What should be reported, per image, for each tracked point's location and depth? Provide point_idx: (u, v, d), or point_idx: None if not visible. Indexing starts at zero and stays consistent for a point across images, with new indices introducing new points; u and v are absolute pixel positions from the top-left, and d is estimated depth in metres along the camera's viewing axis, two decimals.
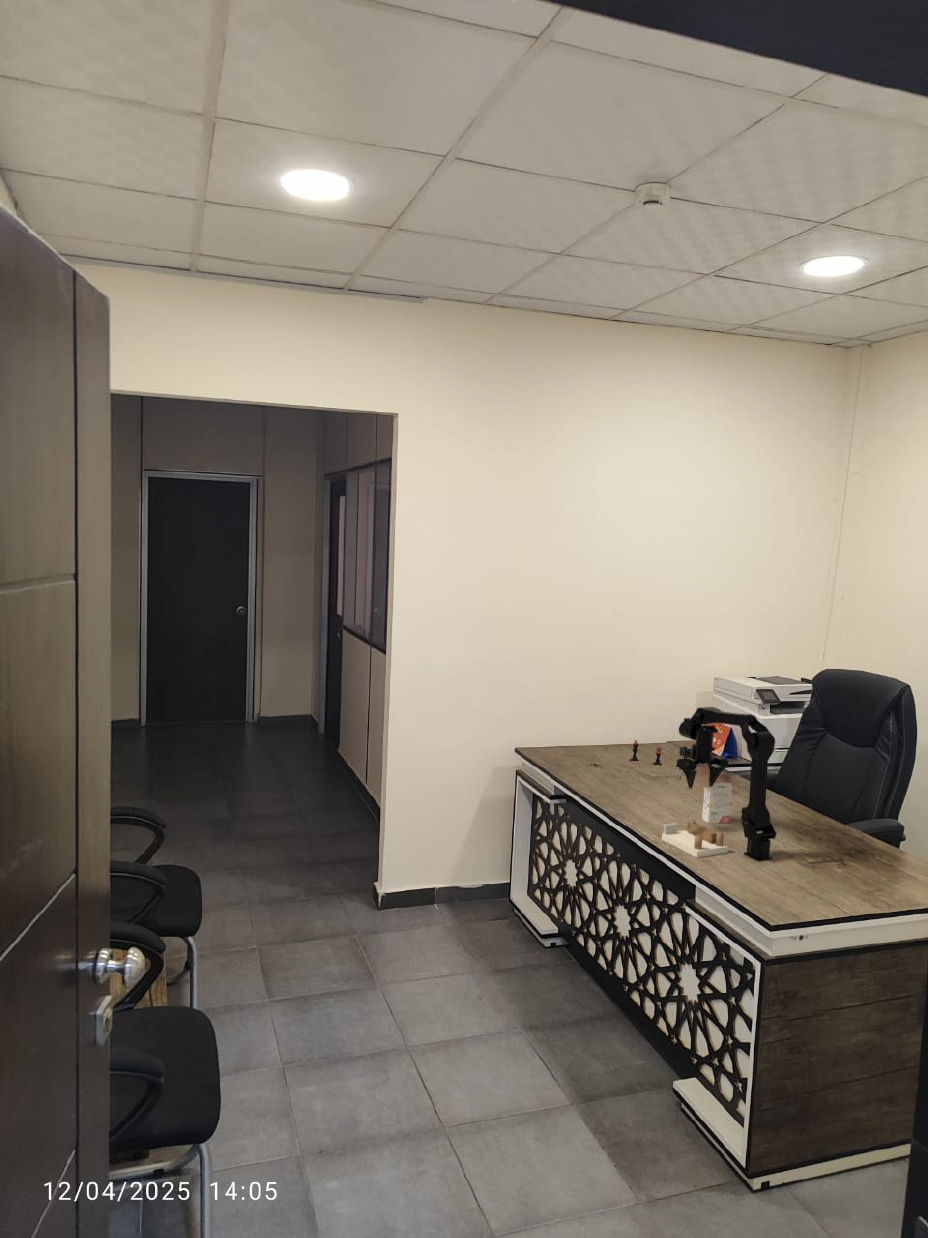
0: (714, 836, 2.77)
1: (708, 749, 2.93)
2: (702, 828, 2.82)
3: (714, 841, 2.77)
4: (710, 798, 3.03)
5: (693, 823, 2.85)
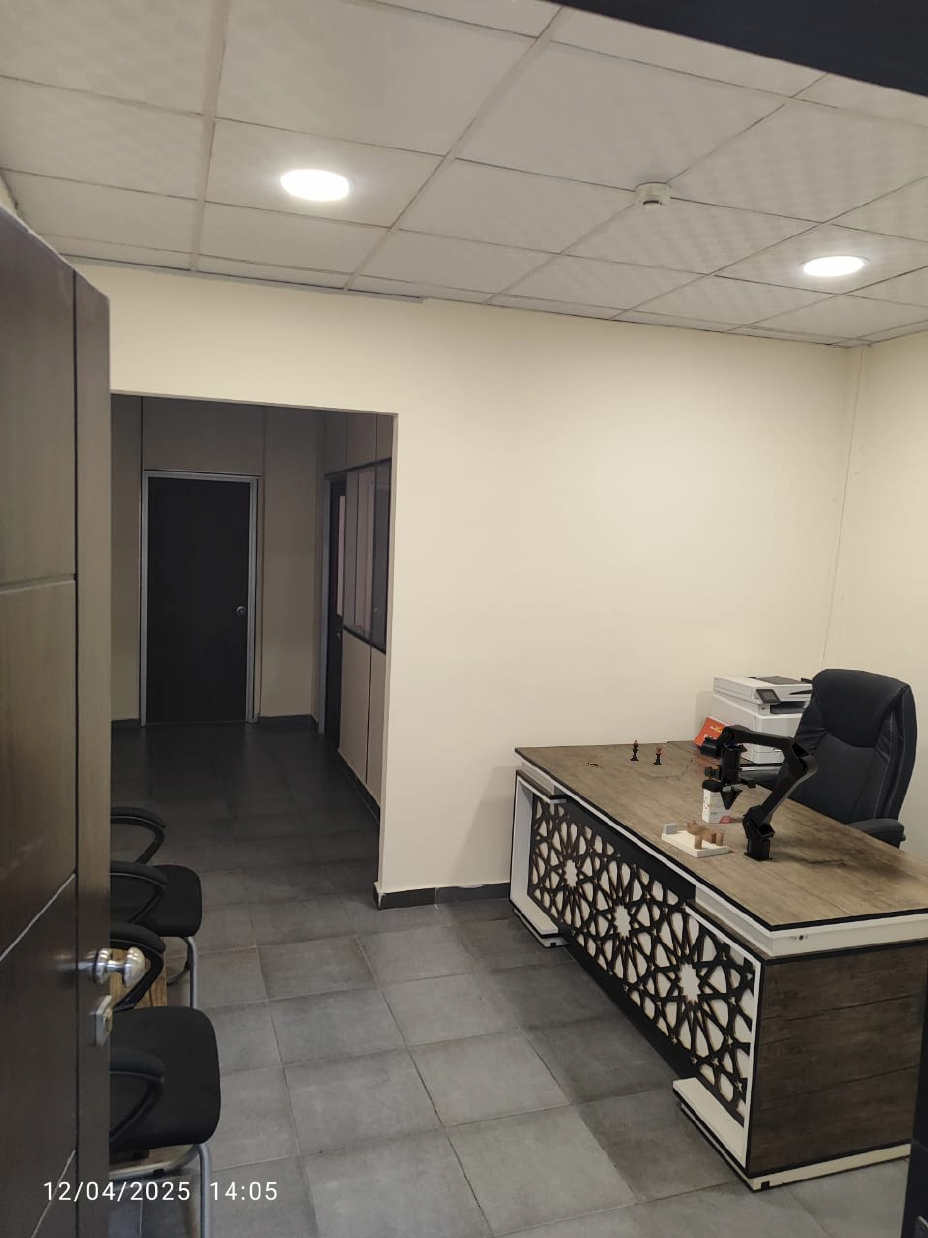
0: (714, 836, 2.77)
1: (735, 770, 2.77)
2: (702, 828, 2.82)
3: (714, 841, 2.77)
4: (710, 798, 3.03)
5: (693, 823, 2.85)
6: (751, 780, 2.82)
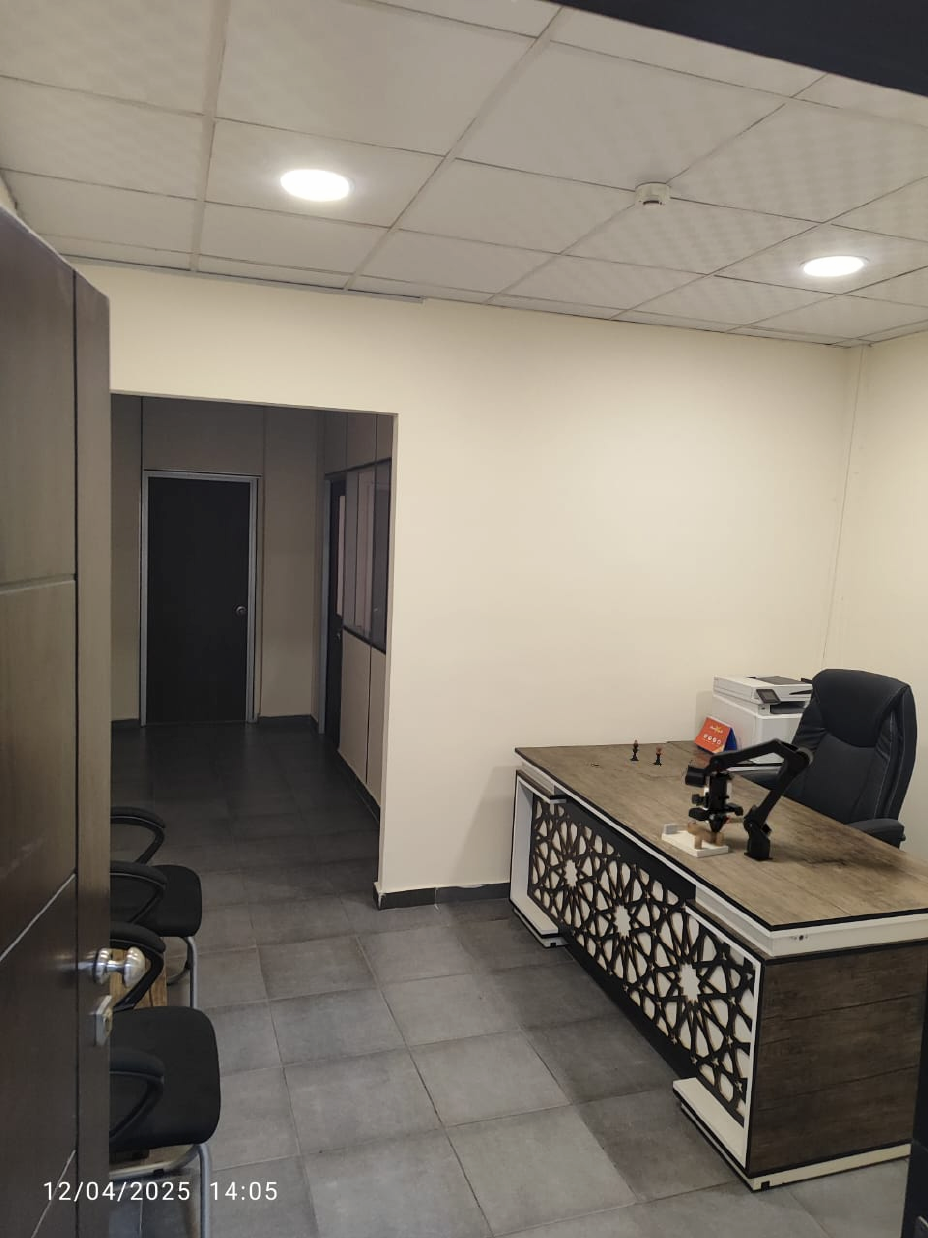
0: (713, 836, 2.77)
1: (722, 798, 2.76)
2: (702, 828, 2.82)
3: (713, 841, 2.77)
4: None
5: (693, 823, 2.85)
6: (738, 807, 2.80)
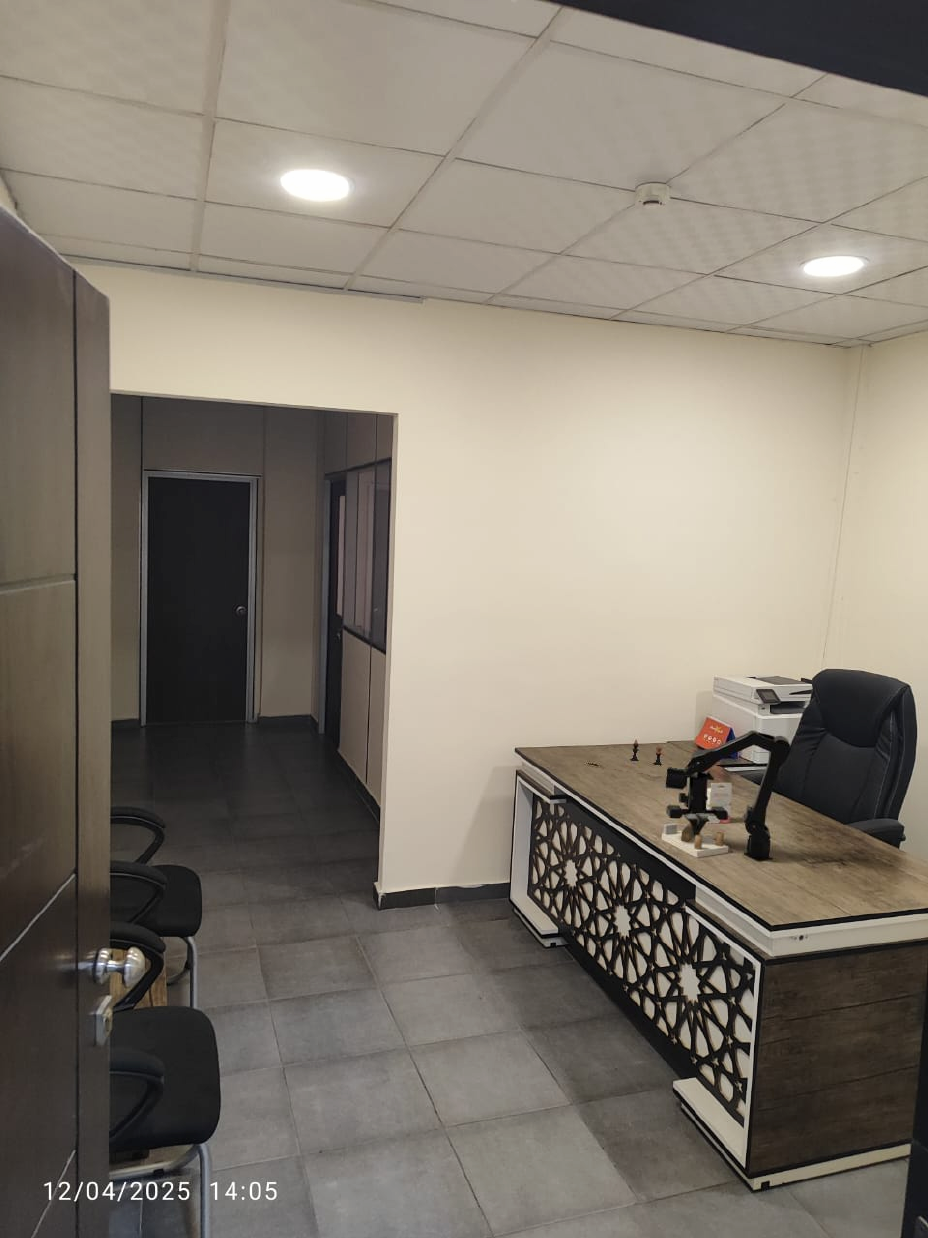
0: (684, 834, 2.77)
1: (698, 798, 2.74)
2: (688, 827, 2.82)
3: (685, 839, 2.77)
4: (710, 798, 3.03)
5: None
6: (722, 811, 2.75)
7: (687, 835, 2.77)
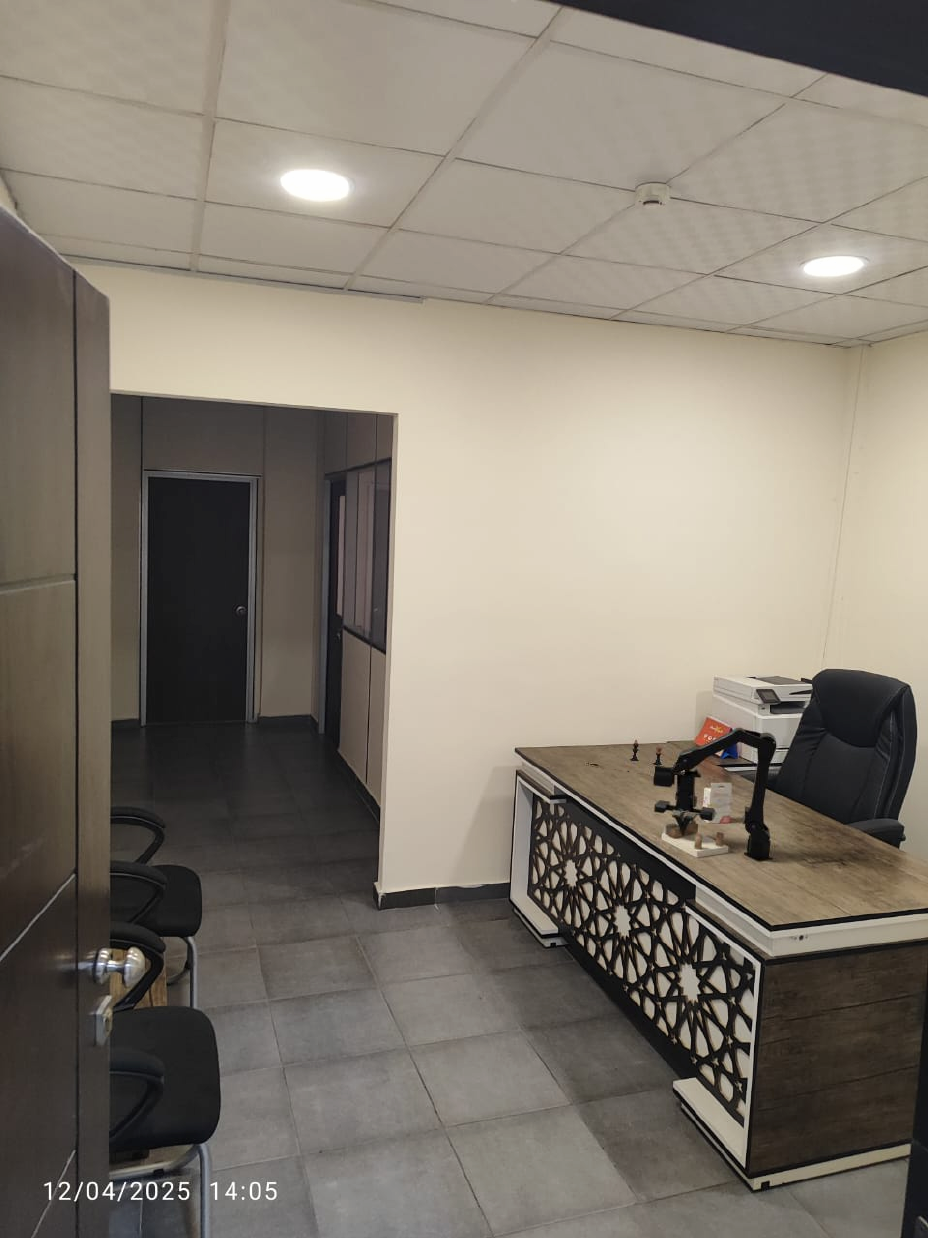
0: (671, 830, 2.80)
1: (681, 795, 2.76)
2: None
3: (671, 835, 2.80)
4: (710, 798, 3.03)
5: None
6: (706, 811, 2.74)
7: (673, 831, 2.80)
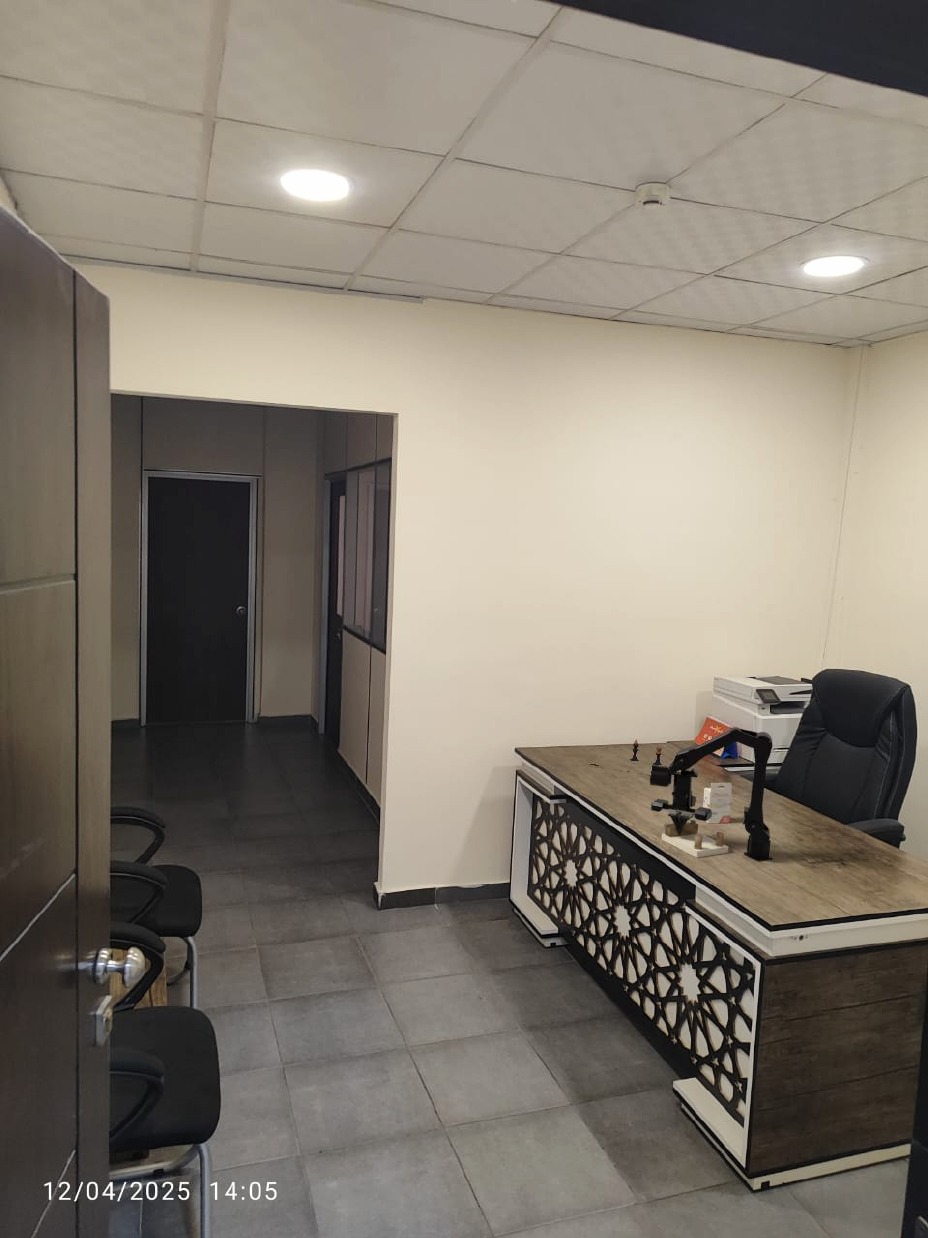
0: (667, 828, 2.82)
1: (677, 795, 2.77)
2: None
3: (667, 834, 2.82)
4: (710, 798, 3.03)
5: None
6: (701, 811, 2.74)
7: (669, 829, 2.81)
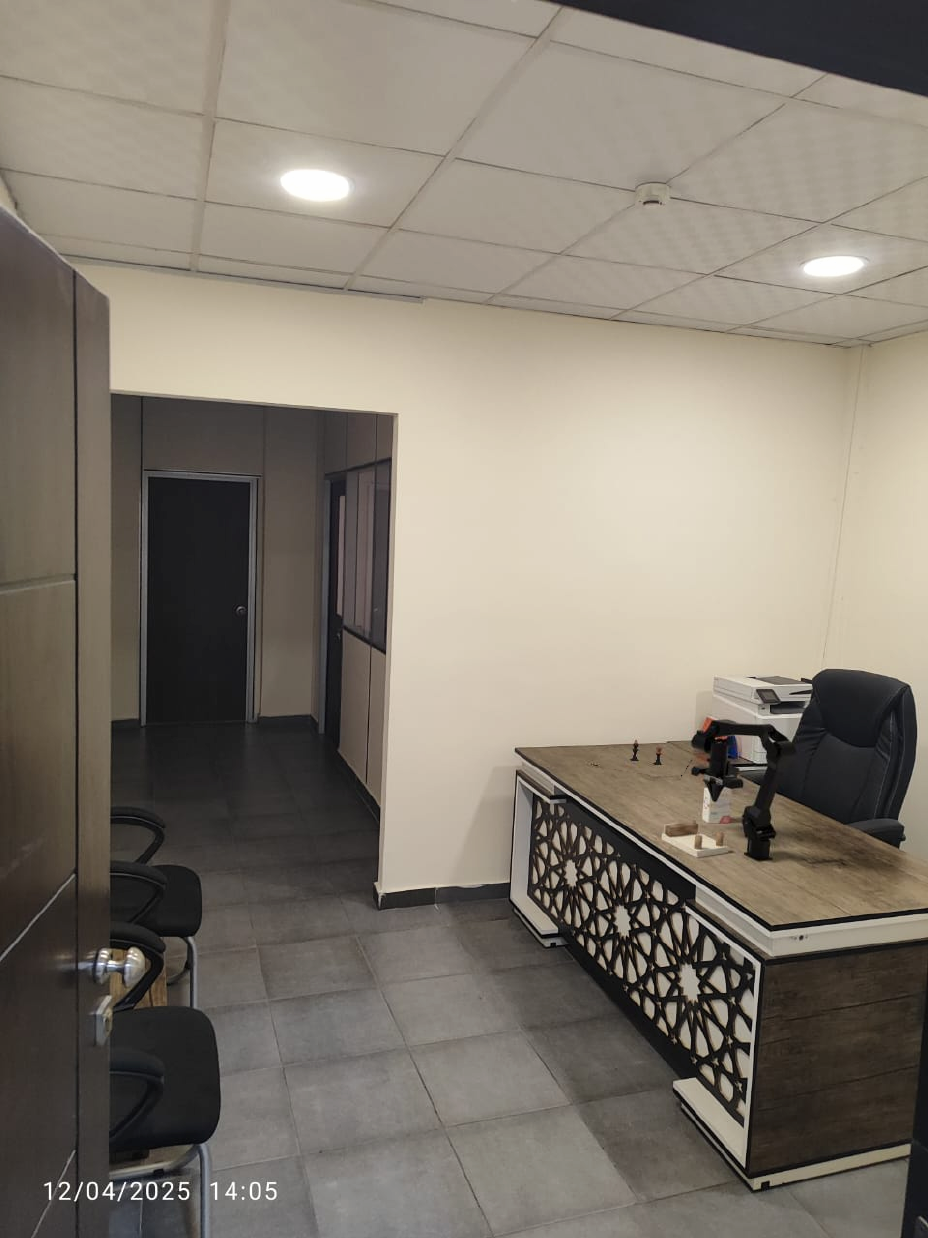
0: (667, 828, 2.82)
1: (710, 761, 2.87)
2: (680, 824, 2.84)
3: (667, 834, 2.82)
4: (710, 798, 3.03)
5: None
6: (728, 779, 2.81)
7: (669, 829, 2.81)
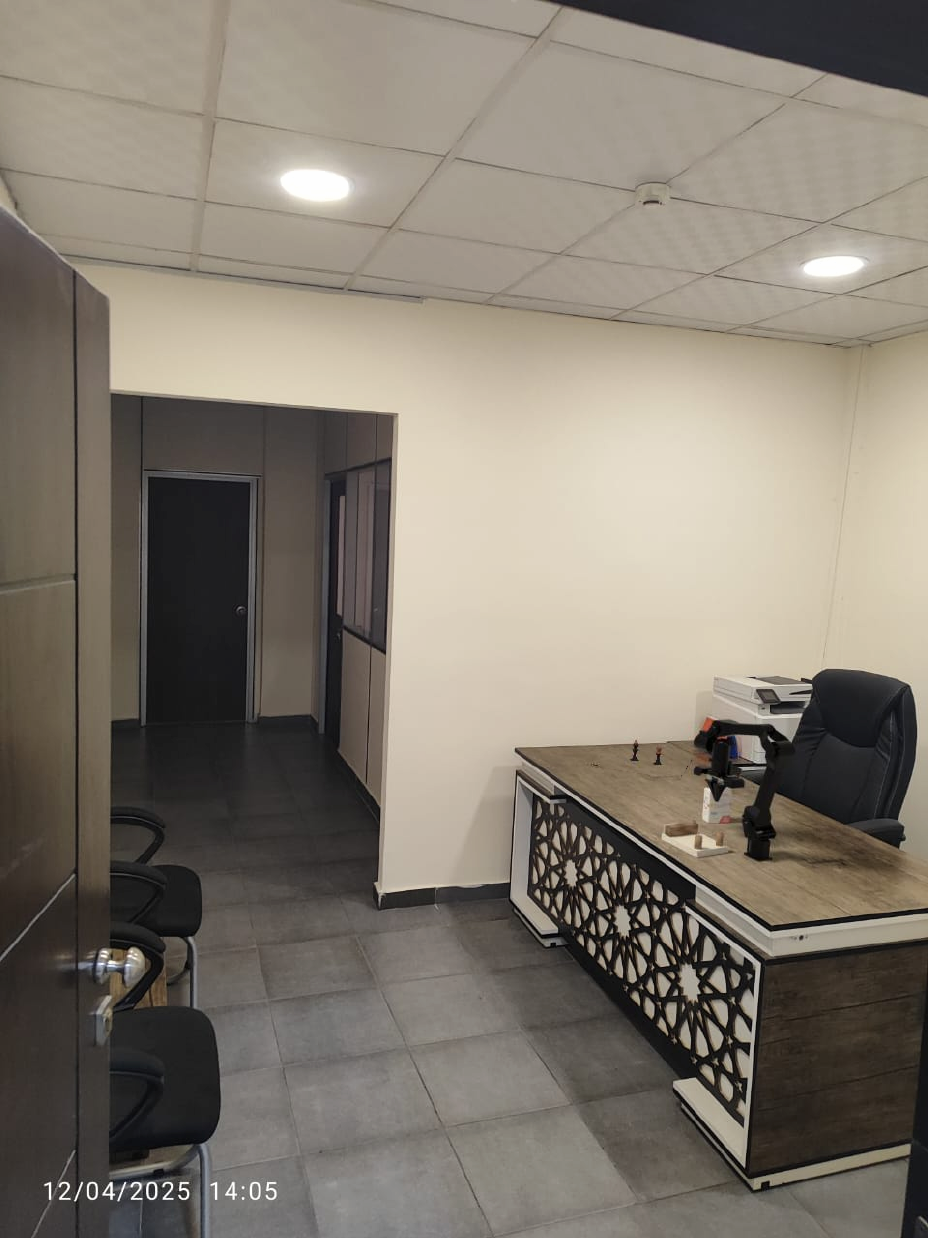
0: (667, 828, 2.82)
1: (712, 761, 2.87)
2: (680, 824, 2.84)
3: (667, 834, 2.82)
4: (710, 798, 3.03)
5: None
6: (729, 779, 2.81)
7: (669, 829, 2.81)
